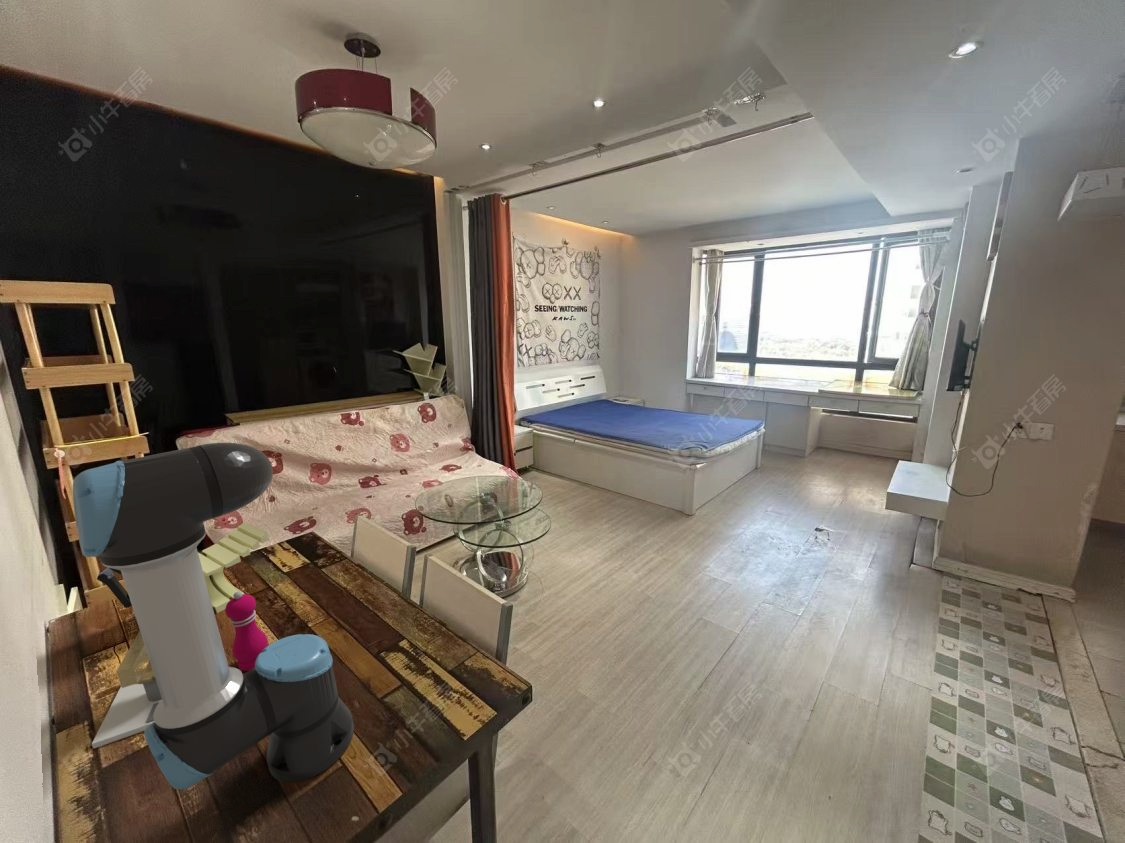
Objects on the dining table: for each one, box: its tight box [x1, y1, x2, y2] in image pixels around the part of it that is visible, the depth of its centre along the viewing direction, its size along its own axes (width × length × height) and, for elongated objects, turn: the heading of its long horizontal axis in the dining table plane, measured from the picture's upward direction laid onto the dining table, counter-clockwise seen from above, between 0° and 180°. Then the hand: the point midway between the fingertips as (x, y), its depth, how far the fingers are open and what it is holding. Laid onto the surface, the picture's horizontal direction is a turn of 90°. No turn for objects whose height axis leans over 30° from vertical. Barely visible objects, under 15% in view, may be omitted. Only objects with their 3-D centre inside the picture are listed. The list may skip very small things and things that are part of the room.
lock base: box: [91, 680, 162, 749], centre depth 100 cm, size 18×18×7 cm
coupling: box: [116, 630, 156, 688], centre depth 97 cm, size 11×22×10 cm, turn 28°
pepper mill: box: [224, 590, 269, 672], centre depth 108 cm, size 7×7×20 cm
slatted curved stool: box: [198, 522, 270, 614], centre depth 131 cm, size 30×16×18 cm, turn 149°
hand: (154, 625), depth 104 cm, fingers closed
